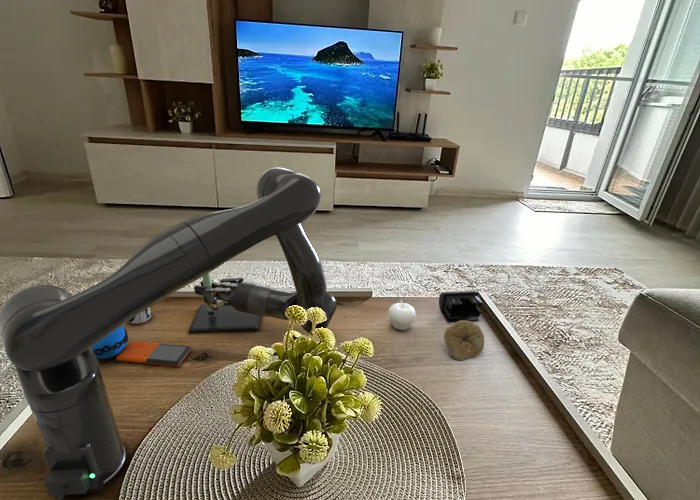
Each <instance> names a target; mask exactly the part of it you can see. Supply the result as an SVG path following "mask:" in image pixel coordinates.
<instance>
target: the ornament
mask: <svg viewBox="0 0 700 500" xmlns="http://www.w3.org/2000/svg"><path fill="white" fill-rule="evenodd" d="M128 341H129V335H128V331H127V329H126V328H125V327H124V326H123V325H121V326H120V327H119V328H117V329H116V330H115V331H113V332H112V333H110V334H109V335H108V336H106V337H105V338H103V339H102V340H101V341H99V342H98V343H97V344H95V345H94V346H92V348H93V351H94V353H95V356H96V358H97V359H101V360H102V359H103V360H104V359H110V358H113V357H115V356H118V355H119V354H120V353H121V352H122V351H123V350H124V349H125V348H126V344H127V343H128Z"/></svg>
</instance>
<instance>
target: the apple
mask: <svg viewBox="0 0 700 500" xmlns="http://www.w3.org/2000/svg"><path fill="white" fill-rule="evenodd" d="M416 315H417V313H416V310H415V308H414V306H412V305H411V304H409V303H406V302H403V300H402V299H399V302H396V303H393V304H392V305H391V306H390V307H389V309H388V318H389V321H390V323H391V325H392V326H393V328H394V329H397V330H399V331H406V330H408V329H409V328H410V327H411V326H412V325H413V323H414V322H415V319H416V317H417V316H416Z"/></svg>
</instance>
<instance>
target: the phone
mask: <svg viewBox="0 0 700 500" xmlns="http://www.w3.org/2000/svg"><path fill="white" fill-rule="evenodd" d="M191 350H192V347H191V346H189V345H180V344H171V343H170V344H169V343H159V342H156V343H155V342H146V341H137V340H132V341H130V343H129V344H128V345H126V346H125V347H124V348H123V349H122V351H121V352H120V353H118V354H117V355H116V357H115V360H116V361H117V362H124V363H125V362H126V363H135V364H144V365H154V366H165V367H176V368H177V367H179V366H180V365H181V364H182V362H183V361H184V360H185V359H186V357H187V356H188V354H190V352H191Z"/></svg>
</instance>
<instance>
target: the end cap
mask: <svg viewBox="0 0 700 500" xmlns="http://www.w3.org/2000/svg"><path fill="white" fill-rule="evenodd" d="M438 306H439V310H440V312H441V315H442V316H443V318H444V319H445V321H446V322H447V323H448V324H449V323H450V324H451V323H453V324H454V323H456V322H458V321H470V322H479V319H480V318H479V317H481V314H482V311H481V310H480V308H481V309H482V308H483V302H482V301H481V299H480V298H479V292H478V291H477V290H462V291H460V290H459V291H443V292H441V293H440V294H439V296H438Z"/></svg>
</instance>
